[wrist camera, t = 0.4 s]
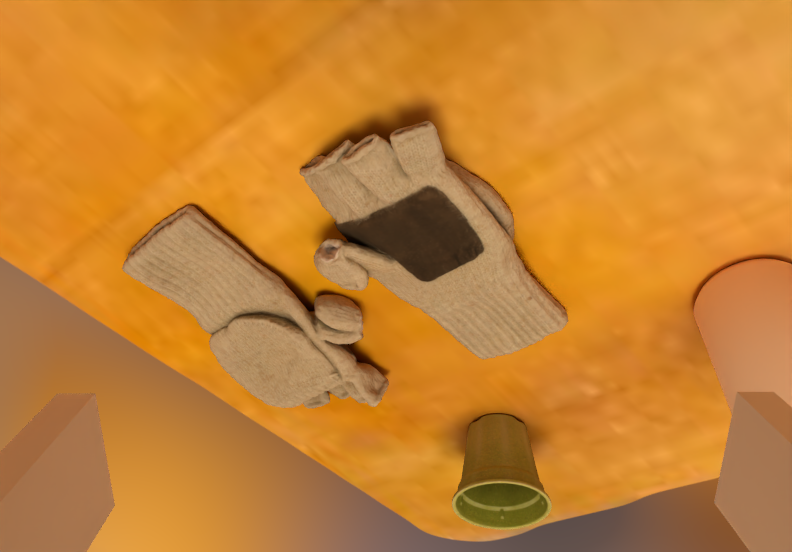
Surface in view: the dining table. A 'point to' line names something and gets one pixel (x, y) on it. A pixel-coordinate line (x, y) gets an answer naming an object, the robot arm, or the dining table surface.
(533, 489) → the plant pot
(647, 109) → the dining table surface
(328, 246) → the pair of gloves
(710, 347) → the alcohol
